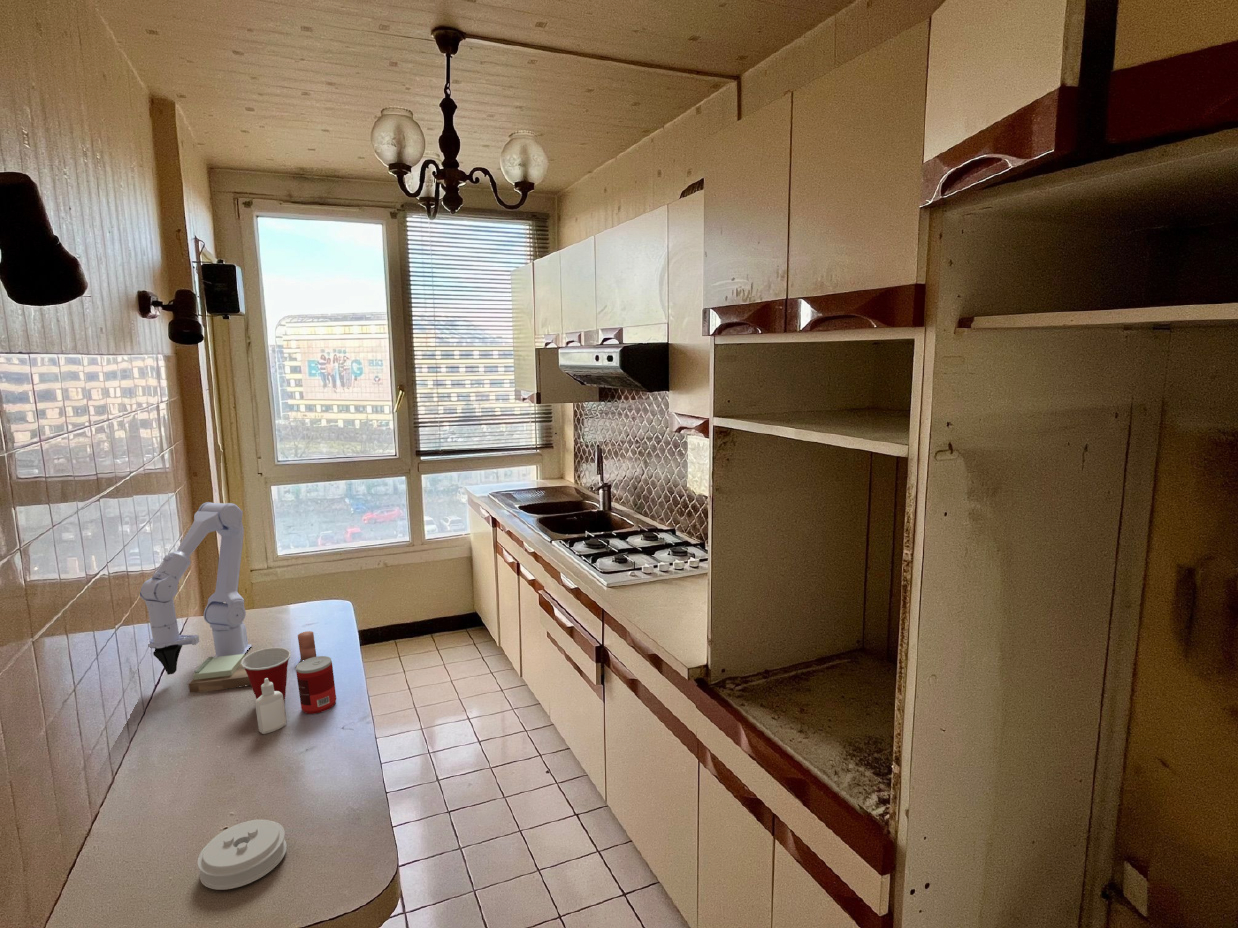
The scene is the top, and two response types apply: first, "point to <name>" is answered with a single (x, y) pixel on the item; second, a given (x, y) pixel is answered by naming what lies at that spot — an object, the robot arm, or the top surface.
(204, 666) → the cover
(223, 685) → the board
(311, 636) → the pin
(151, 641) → the robot arm
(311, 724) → the top surface
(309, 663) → the canned food
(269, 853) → the lid
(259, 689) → the plastic cup
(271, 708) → the eye dropper bottle
